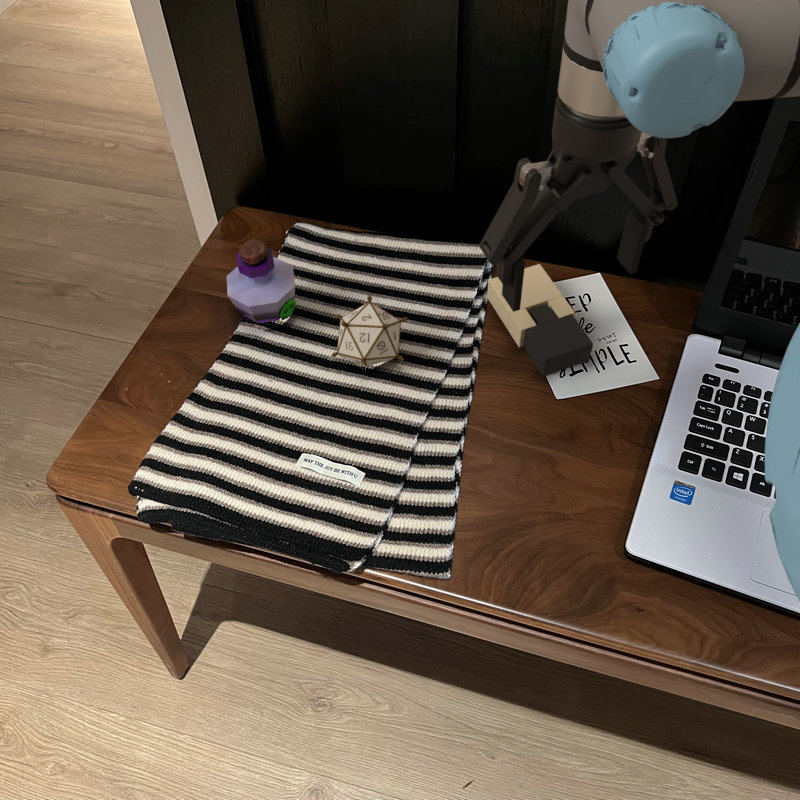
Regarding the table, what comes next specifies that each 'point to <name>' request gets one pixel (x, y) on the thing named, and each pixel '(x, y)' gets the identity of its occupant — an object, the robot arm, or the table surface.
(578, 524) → the table surface
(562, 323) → the black pad
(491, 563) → the table surface
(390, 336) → the game die
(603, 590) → the table surface
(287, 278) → the potion bottle
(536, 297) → the base pad
